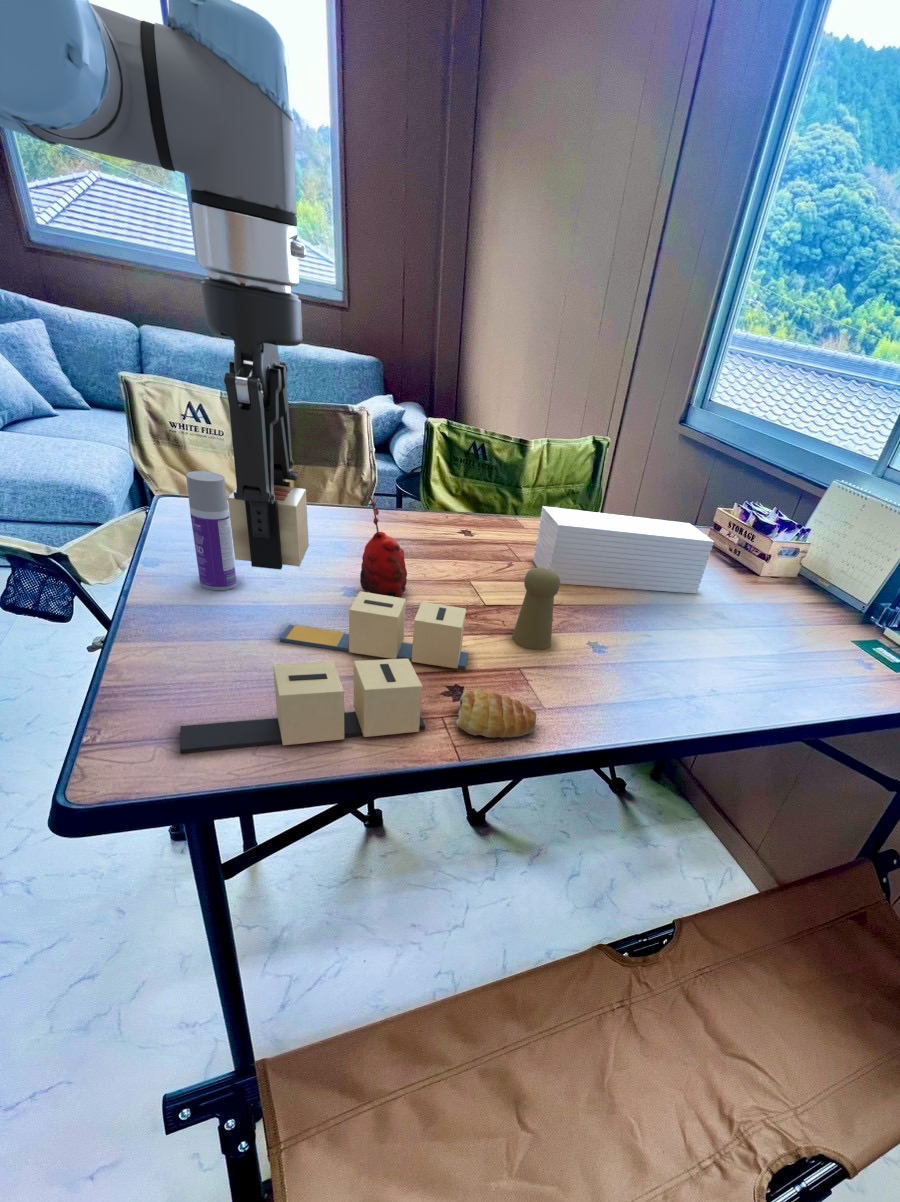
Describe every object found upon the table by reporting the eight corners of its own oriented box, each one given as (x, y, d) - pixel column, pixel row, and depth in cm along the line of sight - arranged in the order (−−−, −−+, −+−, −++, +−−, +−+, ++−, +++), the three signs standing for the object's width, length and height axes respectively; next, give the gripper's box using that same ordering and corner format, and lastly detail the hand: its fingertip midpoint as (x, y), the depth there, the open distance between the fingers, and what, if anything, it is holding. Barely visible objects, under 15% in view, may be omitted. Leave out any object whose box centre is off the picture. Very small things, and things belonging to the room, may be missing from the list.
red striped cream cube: (234, 559, 61) (227, 496, 58) (248, 539, 66) (242, 479, 62) (299, 566, 62) (296, 505, 59) (308, 546, 67) (305, 488, 64)
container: (192, 585, 88) (176, 475, 79) (213, 574, 92) (199, 468, 83) (224, 593, 88) (211, 483, 79) (243, 582, 92) (232, 476, 83)
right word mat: (276, 644, 79) (273, 596, 75) (291, 624, 84) (289, 578, 80) (464, 673, 82) (470, 628, 79) (468, 652, 87) (473, 609, 83)
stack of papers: (674, 573, 133) (689, 523, 127) (696, 593, 125) (714, 541, 119) (532, 561, 123) (542, 505, 117) (547, 582, 115) (558, 524, 109)
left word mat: (180, 759, 59) (169, 701, 55) (181, 724, 63) (170, 668, 59) (427, 734, 70) (432, 684, 66) (413, 705, 74) (417, 656, 70)
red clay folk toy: (413, 599, 98) (419, 502, 89) (370, 602, 94) (372, 502, 86) (394, 580, 103) (398, 486, 94) (352, 582, 99) (352, 485, 90)
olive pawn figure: (558, 642, 95) (573, 573, 89) (537, 653, 91) (551, 582, 85) (526, 627, 97) (538, 559, 91) (504, 638, 93) (515, 567, 87)
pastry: (532, 713, 77) (537, 687, 75) (536, 745, 72) (542, 719, 70) (456, 705, 76) (460, 678, 73) (455, 738, 70) (458, 710, 68)
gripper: (278, 295, 45) (297, 595, 58) (316, 290, 60) (324, 529, 73) (161, 272, 43) (208, 587, 56) (231, 273, 58) (254, 521, 71)
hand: (273, 554), depth 64 cm, fingers closed on red striped cream cube, 6 cm apart
